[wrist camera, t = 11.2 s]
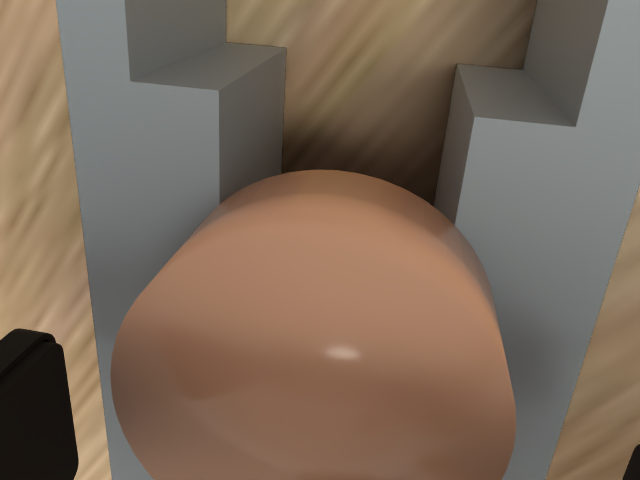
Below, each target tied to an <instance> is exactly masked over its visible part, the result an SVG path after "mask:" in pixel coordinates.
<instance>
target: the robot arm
mask: <svg viewBox="0 0 640 480" xmlns="http://www.w3.org/2000/svg"><path fill="white" fill-rule="evenodd" d="M77 469H78V452H77V445H76V438H75V431H74V424H73V416H72V409H71V402H70V395H69V388H68V380H67V373H66V366H65V359H64V352H63V348H62V346H61V345H60V344H57V343H56V341H55V338H54V337H53V335H51V334H49V333H44V332H38V331H32V330H26V329H14V330H13V331H11V332H10V333H8V334H7V335H6V336H5V337H4V338H3V339H1V340H0V480H74V477H75V475H76V472H77ZM622 480H640V444H638V445H637V446H636V447H635V449H634V451H633V453H632V456H631V459H630V461H629V464H628V466H627V469H626V471H625V474H624V477H623V479H622Z"/></svg>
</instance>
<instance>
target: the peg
mask: <svg viewBox="0 0 640 480" xmlns="http://www.w3.org/2000/svg"><path fill="white" fill-rule="evenodd" d="M110 378H111V391H112V398H113V403H114V407H115V411H116V415H117V418H118V421H119V423H120V426H121V428H122V431H123V434H124V436H125V438H126V440H127V441H128V443H129V445H130V447H131V449H132V451H133V453H134V454H135V456H136V457H137V458H138V460H139V461H140V463H141V464H142V466H143V467H144V468H145V470H146V471H147V472H148V473H149V475H150V476H151V477H152V478H153V479H154V480H502V478H503V476H504V474H505V472H506V470H507V468H508V465H509V462H510V458H511V455H512V452H513V449H514V442H515V434H516V406H515V400H514V395H513V390H512V385H511V381H510V376H509V371H508V366H507V361H506V357H505V352H504V347H503V342H502V338H501V333H500V328H499V323H498V318H497V314H496V309H495V304H494V300H493V295H492V290H491V286H490V283H489V280H488V277H487V275H486V272H485V270H484V267H483V265H482V263H481V261H480V260H479V258H478V256H477V254H476V253H475V251H474V249H473V247H472V246H471V245H470V243H469V242H468V241H467V239H466V238H465V237H464V236H463V234H462V233H461V232H460V230H459V229H458V228H457V227H456V226H455V225H454V224H453V223H452V222H451V221H450V220H449V219H448V218H447V217H446V216H445V215H444V214H442V213H441V212H440V211H438V210H437V209H436V208H434V207H433V206H432V205H430V204H429V203H428V202H426V201H425V200H424V199H422V198H420V197H418V196H416V195H415V194H413V193H411V192H409V191H408V190H406V189H404V188H402V187H399V186H397V185H394V184H392V183H389V182H387V181H384V180H382V179H378V178H375V177H371V176H367V175H363V174H360V173H354V172H346V171H339V170H305V171H296V172H288V173H284V174H280V175H277V176H273V177H269V178H266V179H263V180H261V181H258V182H256V183H253V184H251V185H248V186H246V187H245V188H243V189H241V190H240V191H238V192H236V193H234V194H233V195H231V196H229V197H228V198H227V199H226V200H224V201H223V202H222V203H221V204H219V205H218V206H217V207H216V208H214V209H213V210H212V211H211V213H210V214H209V215H208V216H207V217H206V218H205V219H204V220H203V221H202V222H201V223H200V224H199V226H198V227H197V228H196V229H195V230H194V232H193V233H192V234H191V235H190V236H189V237H188V239H187V240H186V241H185V242H184V243H183V244H182V246H181V247H180V248H179V249H178V250H177V251H176V253H175V254H174V255H173V256H172V257H171V259H170V260H169V261H168V262H167V263H166V264H165V266H164V267H163V268H162V269H161V270H160V271H159V273H158V274H157V275H156V276H155V277H154V279H153V280H152V281H151V282H150V283H149V284H148V286H147V287H146V288H145V289H144V290H143V291H142V293H141V294H140V295H139V296H138V297H137V299H136V300H135V302H134V303H133V305H132V306H131V308H130V309H129V311H128V312H127V314H126V315H125V318H124V320H123V322H122V324H121V327H120V329H119V331H118V333H117V336H116V340H115V344H114V348H113V352H112V360H111V372H110Z"/></svg>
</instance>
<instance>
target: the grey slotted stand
mask: <svg viewBox="0 0 640 480" xmlns="http://www.w3.org/2000/svg"><path fill="white" fill-rule="evenodd" d="M56 6H57V14H58V23H59V31H60V40H61V48H62V57H63V65H64V74H65V82H66V91H67V99H68V108H69V116H70V125H71V134H72V142H73V151H74V159H75V168H76V176H77V185H78V193H79V202H80V210H81V219H82V227H83V236H84V244H85V253H86V261H87V270H88V278H89V287H90V296H91V304H92V313H93V321H94V330H95V338H96V347H97V355H98V364H99V372H100V381H101V389H102V398H103V406H104V415H105V423H106V432H107V440H108V449H109V458H110V466H111V475H112V480H154V479H153V478H152V477H151V476H150V475H149V473H148V472H147V471H146V470H145V468H144V467H143V466H142V464H141V463H140V461H139V460H138V458H137V457H136V456H135V454H134V453H133V451H132V449H131V447H130V445H129V443H128V441H127V440H126V438H125V436H124V434H123V431H122V428H121V426H120V423H119V421H118V418H117V415H116V411H115V407H114V403H113V398H112V391H111V378H110V372H111V360H112V352H113V348H114V344H115V340H116V336H117V333H118V331H119V329H120V327H121V324H122V322H123V320H124V318H125V315H126V314H127V312H128V311H129V309H130V308H131V306H132V305H133V303H134V302H135V300H136V299H137V297H138V296H139V295H140V294H141V293H142V291H143V290H144V289H145V288H146V287H147V286H148V284H149V283H150V282H151V281H152V280H153V279H154V277H155V276H156V275H157V274H158V273H159V271H160V270H161V269H162V268H163V267H164V266H165V264H166V263H167V262H168V261H169V260H170V259H171V257H172V256H173V255H174V254H175V253H176V251H177V250H178V249H179V248H180V247H181V246H182V244H183V243H184V242H185V241H186V240H187V239H188V237H189V236H190V235H191V234H192V233H193V232H194V230H195V229H196V228H197V227H198V226H199V224H200V223H201V222H202V221H203V220H204V219H205V218H206V217H207V216H208V215H209V214H210V213H211V211H212V210H213V209H214V208H216V207H217V206H218V205H219V204H221V203H222V202H223V201H224V200H226V199H227V198H228V197H229V196H231V195H233V194H234V193H236V192H238V191H240V190H241V189H243V188H245V187H246V186H248V185H251V184H253V183H256V182H258V181H261V180H263V179H266V178H269V177H273V176H277V175H280V174H281V169H282V145H283V121H284V96H285V72H286V48H282V47H272V46H261V45H250V44H239V43H229V42H226V0H56ZM639 186H640V0H537V5H536V9H535V14H534V19H533V24H532V28H531V33H530V38H529V43H528V47H527V52H526V57H525V62H524V66H523V70H519V69H508V68H497V67H486V66H476V65H465V64H457V66H456V73H455V79H454V85H453V91H452V97H451V103H450V109H449V116H448V122H447V128H446V134H445V140H444V146H443V152H442V159H441V165H440V171H439V177H438V183H437V189H436V196H435V202H434V208H436V209H437V210H438V211H440V212H441V213H442V214H444V215H445V216H446V217H447V218H448V219H449V220H450V221H451V222H452V223H453V224H454V225H455V226H456V227H457V228H458V229H459V230H460V232H461V233H462V234H463V236H464V237H465V238H466V239H467V241H468V242H469V243H470V245H471V246H472V247H473V249H474V251H475V253H476V254H477V256H478V258H479V260H480V261H481V263H482V265H483V267H484V270H485V272H486V275H487V277H488V280H489V283H490V286H491V290H492V295H493V300H494V304H495V309H496V314H497V318H498V323H499V328H500V333H501V338H502V342H503V347H504V352H505V357H506V361H507V366H508V371H509V376H510V381H511V385H512V390H513V395H514V400H515V406H516V434H515V442H514V449H513V452H512V455H511V458H510V462H509V465H508V468H507V470H506V472H505V474H504V476H503V478H502V480H545V479H546V476H547V473H548V470H549V467H550V464H551V460H552V457H553V454H554V451H555V448H556V445H557V442H558V439H559V435H560V432H561V429H562V426H563V423H564V420H565V417H566V414H567V411H568V407H569V404H570V401H571V398H572V395H573V392H574V389H575V386H576V382H577V379H578V376H579V373H580V370H581V367H582V364H583V361H584V357H585V354H586V351H587V348H588V345H589V342H590V339H591V336H592V332H593V329H594V326H595V323H596V320H597V317H598V314H599V311H600V307H601V304H602V301H603V298H604V295H605V292H606V289H607V286H608V282H609V279H610V276H611V273H612V270H613V267H614V264H615V261H616V258H617V254H618V251H619V248H620V245H621V242H622V239H623V236H624V233H625V229H626V226H627V223H628V220H629V217H630V214H631V211H632V208H633V204H634V201H635V198H636V195H637V192H638V189H639Z"/></svg>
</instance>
